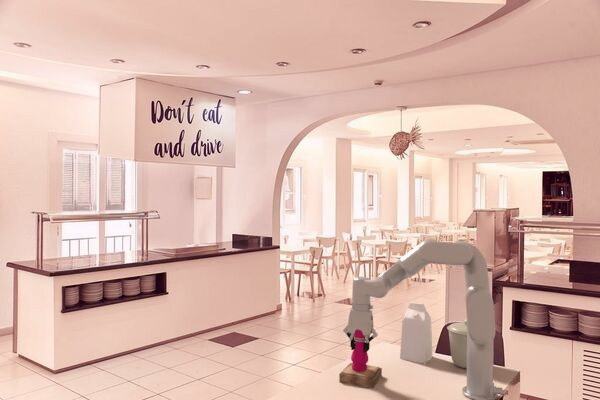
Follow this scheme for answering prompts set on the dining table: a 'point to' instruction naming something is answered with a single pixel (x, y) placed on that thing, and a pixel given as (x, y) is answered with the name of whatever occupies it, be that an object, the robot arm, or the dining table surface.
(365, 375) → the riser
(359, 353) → the pepper mill
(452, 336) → the canister
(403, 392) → the dining table surface
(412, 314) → the milk
